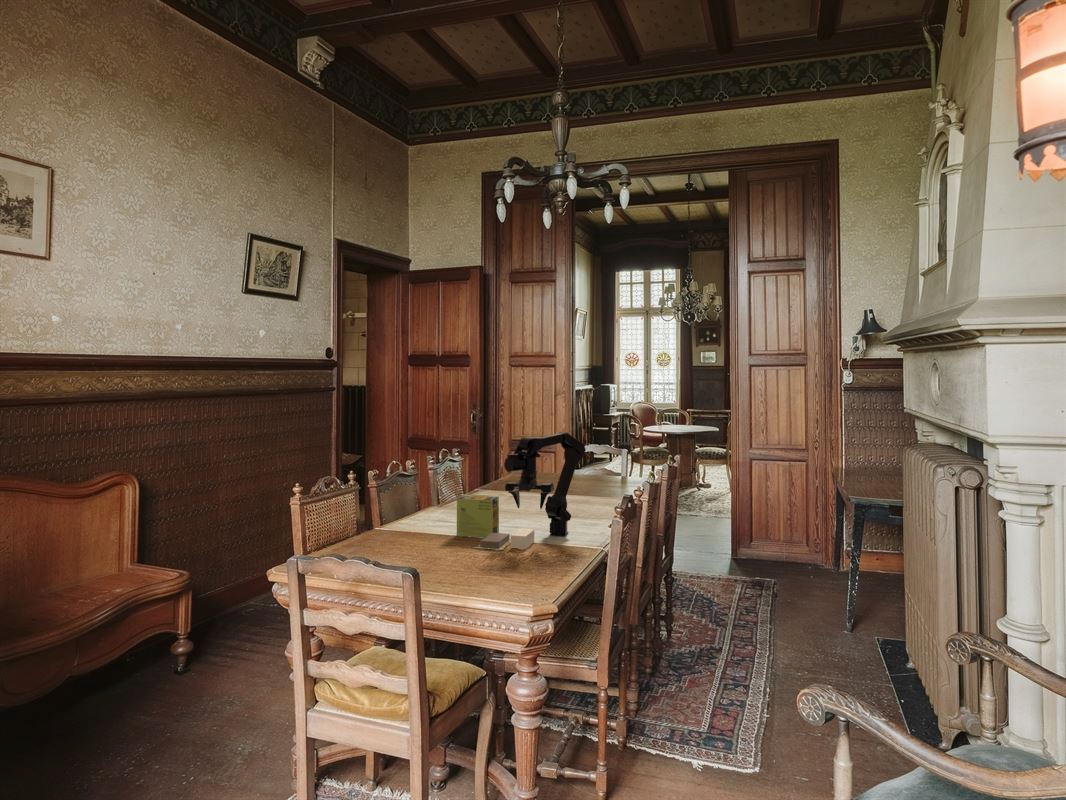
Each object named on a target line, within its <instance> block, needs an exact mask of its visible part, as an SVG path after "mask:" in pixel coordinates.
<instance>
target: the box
mask: <svg viewBox="0 0 1066 800" xmlns="http://www.w3.org/2000/svg"><path fill="white" fill-rule="evenodd" d="M510 539H511V544H510V549H511V548H523V549H522V550H524V549H526V548H527V547H528V548H529V547H531V546H532V545H533V544H534V543H535V529H534V528H520V527H519V528H518V529H517V530H515V531H514V532H513V533H512V534H510ZM533 542H534V543H533ZM532 543H533V544H532ZM531 544H532V545H531ZM530 545H531V546H530ZM528 548H527V549H528ZM527 549H526V550H527Z"/></svg>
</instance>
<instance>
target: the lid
mask: <svg viewBox="0 0 1066 800" xmlns="http://www.w3.org/2000/svg"><path fill="white" fill-rule="evenodd" d="M510 539H511V534H510V533H501V532H499V533H491V534H489V535H488V536H486V537H485V538H482V539H481V540H480V541H479V544H480V547H484V548H498V549H499V548H500V547H501V546H503V545H504V544H505V543H506V542H508V541H509V540H510Z"/></svg>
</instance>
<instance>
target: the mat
mask: <svg viewBox="0 0 1066 800" xmlns="http://www.w3.org/2000/svg"><path fill="white" fill-rule="evenodd" d="M509 542H510V543H511V538H510V540H509ZM477 546H480V543H479V544H478V545H477ZM501 547H505V546H501ZM474 548H476V546H475V547H474ZM478 548H481V547H478ZM482 548H484V547H482ZM485 549H488V548H485ZM485 549H484V550H485ZM489 549H498V548H489ZM503 549H504V548H499V549H498V550H503ZM498 550H497V551H498ZM504 550H505V549H504ZM504 550H503V551H504Z"/></svg>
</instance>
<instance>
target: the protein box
mask: <svg viewBox="0 0 1066 800" xmlns="http://www.w3.org/2000/svg"><path fill="white" fill-rule="evenodd" d="M499 512H500V496H499V495H489V494H488V495H487V494H486V495H484V494H463V495H461V496H460V497H458V498H456V537H462V536H471V537H470V538H479V537H486V536H488V535H489V534H491V533H500V513H499Z"/></svg>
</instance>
